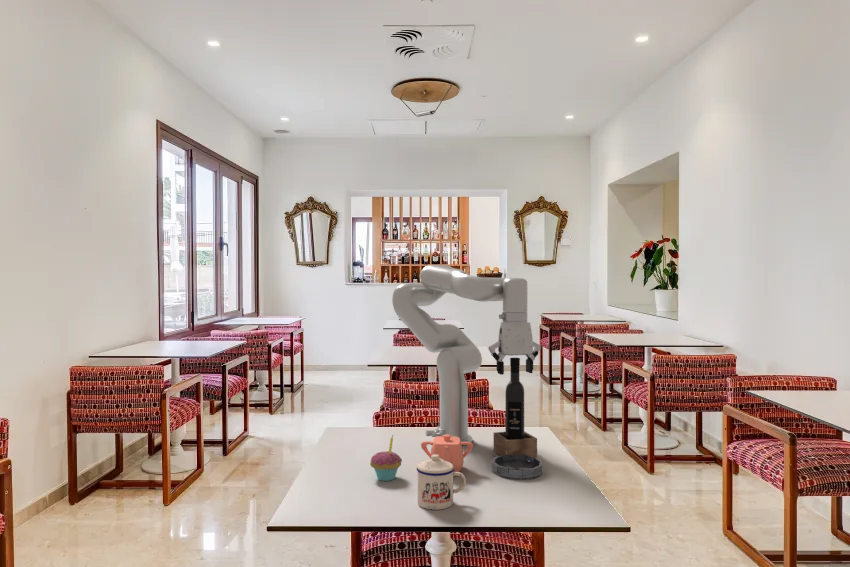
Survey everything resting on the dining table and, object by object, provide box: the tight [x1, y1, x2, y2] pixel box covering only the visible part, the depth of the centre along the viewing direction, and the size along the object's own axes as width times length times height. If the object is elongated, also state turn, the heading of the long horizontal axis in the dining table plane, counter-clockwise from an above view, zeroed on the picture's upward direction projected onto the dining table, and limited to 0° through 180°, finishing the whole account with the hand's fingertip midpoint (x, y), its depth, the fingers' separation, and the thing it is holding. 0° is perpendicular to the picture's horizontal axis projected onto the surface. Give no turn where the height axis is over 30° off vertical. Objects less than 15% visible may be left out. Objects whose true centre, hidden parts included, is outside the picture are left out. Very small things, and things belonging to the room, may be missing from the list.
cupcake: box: [369, 434, 403, 482], centre depth 157 cm, size 9×8×12 cm
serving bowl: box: [491, 454, 543, 480], centre depth 163 cm, size 14×14×3 cm
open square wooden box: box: [493, 430, 538, 458], centre depth 178 cm, size 10×10×6 cm
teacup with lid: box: [416, 454, 467, 511], centre depth 139 cm, size 12×9×12 cm
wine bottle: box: [504, 357, 525, 440], centre depth 178 cm, size 6×6×30 cm
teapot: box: [420, 434, 474, 472], centre depth 163 cm, size 14×12×10 cm
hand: (515, 373), depth 178 cm, fingers open, 9 cm apart
